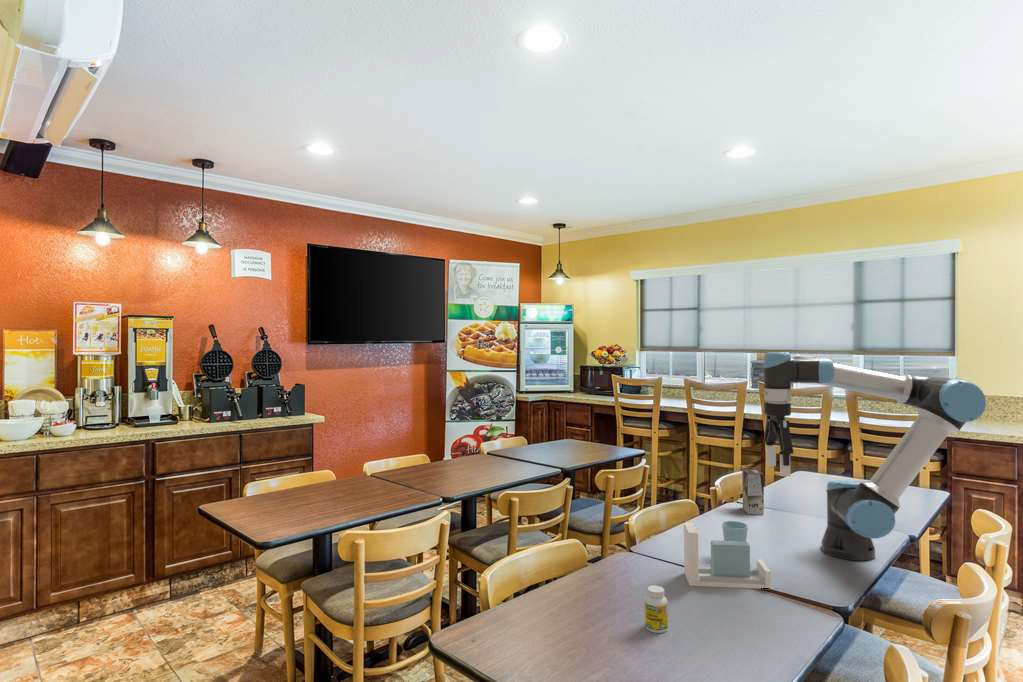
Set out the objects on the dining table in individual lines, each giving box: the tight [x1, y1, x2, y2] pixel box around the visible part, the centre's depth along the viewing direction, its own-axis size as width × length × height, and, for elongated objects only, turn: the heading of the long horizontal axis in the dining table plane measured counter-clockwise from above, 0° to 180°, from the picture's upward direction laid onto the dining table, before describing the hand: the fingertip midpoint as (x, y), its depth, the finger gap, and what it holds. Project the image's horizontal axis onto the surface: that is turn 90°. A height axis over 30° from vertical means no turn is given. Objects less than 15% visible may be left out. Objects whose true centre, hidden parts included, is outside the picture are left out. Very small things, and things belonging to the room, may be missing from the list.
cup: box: [721, 520, 749, 542], centre depth 187 cm, size 8×8×10 cm
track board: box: [683, 522, 772, 590], centre depth 169 cm, size 22×9×15 cm, turn 82°
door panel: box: [710, 539, 751, 578], centre depth 169 cm, size 10×4×10 cm, turn 83°
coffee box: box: [741, 468, 765, 516], centre depth 235 cm, size 9×6×16 cm
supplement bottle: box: [644, 585, 669, 634], centre depth 142 cm, size 5×5×10 cm
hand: (777, 470), depth 181 cm, fingers open, 13 cm apart
